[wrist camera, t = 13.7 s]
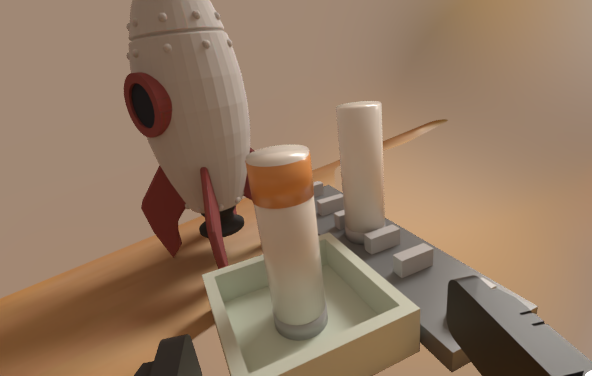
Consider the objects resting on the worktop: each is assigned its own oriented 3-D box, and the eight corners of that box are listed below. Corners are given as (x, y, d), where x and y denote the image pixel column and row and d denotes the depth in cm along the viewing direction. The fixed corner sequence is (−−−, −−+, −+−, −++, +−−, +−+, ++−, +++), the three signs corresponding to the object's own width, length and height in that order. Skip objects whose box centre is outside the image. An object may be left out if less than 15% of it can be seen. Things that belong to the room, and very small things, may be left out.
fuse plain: (359, 249, 29) (351, 110, 25) (338, 232, 32) (327, 107, 28) (394, 236, 30) (391, 102, 26) (370, 221, 34) (364, 99, 29)
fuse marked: (286, 349, 21) (255, 168, 17) (267, 313, 24) (237, 153, 20) (337, 326, 22) (321, 152, 18) (313, 295, 25) (294, 141, 21)
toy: (155, 260, 35) (40, -96, 24) (232, 217, 42) (172, -68, 32) (225, 295, 28) (110, -178, 17) (302, 236, 36) (255, -117, 25)
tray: (249, 440, 17) (237, 394, 16) (211, 309, 27) (201, 274, 25) (419, 351, 21) (420, 308, 19) (332, 264, 30) (328, 232, 29)
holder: (451, 372, 19) (454, 331, 18) (281, 209, 43) (278, 187, 42) (534, 325, 21) (541, 286, 20) (329, 195, 45) (327, 174, 44)
